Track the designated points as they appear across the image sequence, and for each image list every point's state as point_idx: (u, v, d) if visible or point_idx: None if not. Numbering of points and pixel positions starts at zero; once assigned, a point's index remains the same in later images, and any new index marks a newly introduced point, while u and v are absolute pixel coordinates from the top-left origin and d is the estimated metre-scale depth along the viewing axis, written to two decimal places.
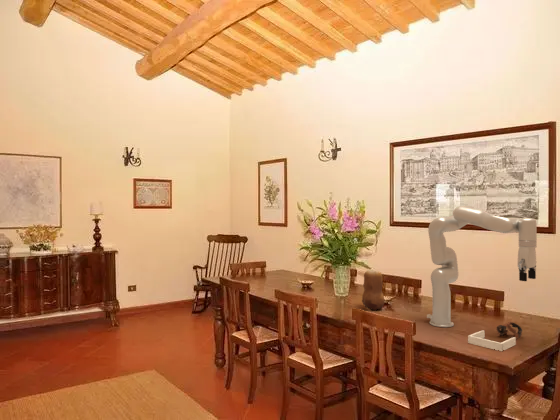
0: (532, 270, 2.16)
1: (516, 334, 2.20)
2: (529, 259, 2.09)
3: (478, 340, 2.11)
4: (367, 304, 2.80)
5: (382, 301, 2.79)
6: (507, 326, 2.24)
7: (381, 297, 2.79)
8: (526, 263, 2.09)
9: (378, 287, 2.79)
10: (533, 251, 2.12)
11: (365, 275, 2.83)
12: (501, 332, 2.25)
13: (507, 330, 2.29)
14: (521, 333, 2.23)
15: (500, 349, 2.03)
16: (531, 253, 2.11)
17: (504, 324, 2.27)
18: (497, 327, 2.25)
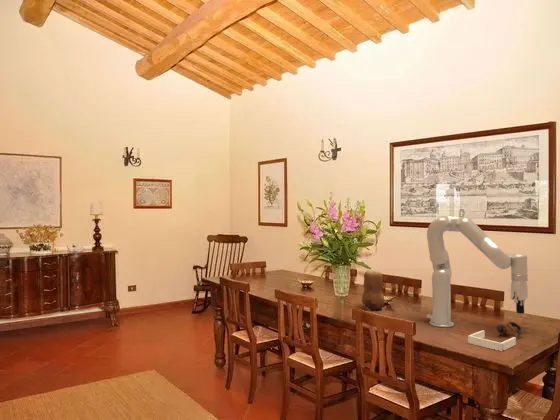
0: None
1: (516, 333, 2.21)
2: (521, 292, 2.28)
3: (478, 340, 2.11)
4: (367, 304, 2.80)
5: (382, 301, 2.79)
6: (507, 326, 2.24)
7: (381, 297, 2.79)
8: (520, 299, 2.29)
9: (378, 287, 2.79)
10: (524, 284, 2.31)
11: (365, 275, 2.83)
12: (501, 332, 2.25)
13: None
14: None
15: (500, 349, 2.03)
16: (523, 286, 2.29)
17: (504, 324, 2.28)
18: (497, 327, 2.26)
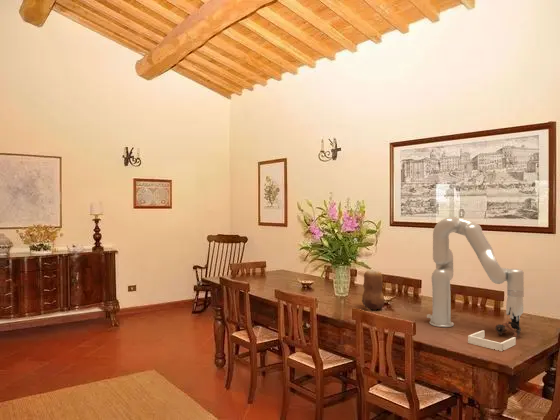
0: None
1: (515, 333, 2.21)
2: (516, 308, 2.26)
3: (478, 340, 2.11)
4: (367, 304, 2.80)
5: (382, 301, 2.79)
6: (506, 325, 2.24)
7: (381, 297, 2.79)
8: (515, 315, 2.26)
9: (378, 287, 2.79)
10: (520, 300, 2.28)
11: (365, 275, 2.83)
12: (500, 331, 2.25)
13: None
14: None
15: (500, 349, 2.03)
16: (519, 302, 2.27)
17: None
18: (496, 326, 2.26)
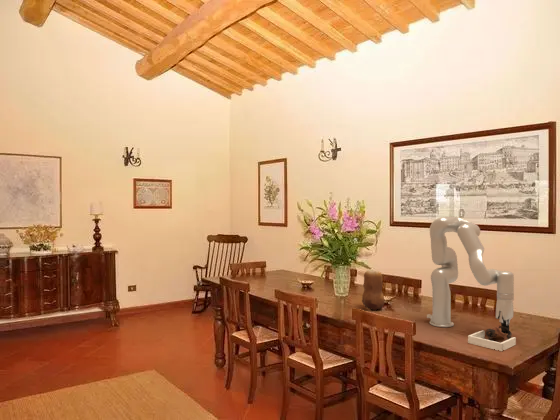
0: None
1: (505, 338, 2.14)
2: (506, 312, 2.18)
3: (478, 340, 2.11)
4: (367, 304, 2.80)
5: (382, 301, 2.79)
6: (496, 330, 2.17)
7: (381, 297, 2.79)
8: (505, 319, 2.19)
9: (378, 287, 2.79)
10: (510, 303, 2.21)
11: (365, 275, 2.83)
12: (490, 336, 2.18)
13: (496, 334, 2.23)
14: (510, 337, 2.16)
15: (500, 349, 2.03)
16: (509, 306, 2.20)
17: (493, 328, 2.21)
18: (486, 331, 2.18)
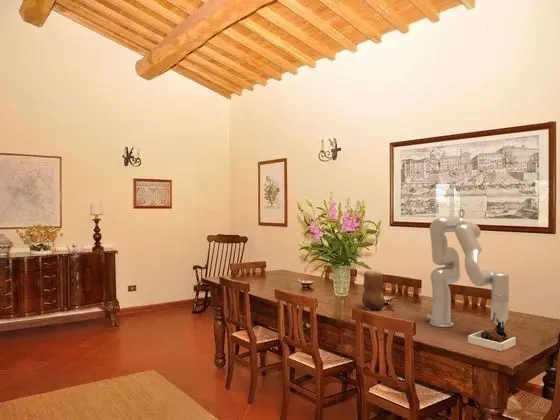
0: None
1: (501, 340, 2.10)
2: (501, 314, 2.15)
3: (478, 340, 2.11)
4: (367, 304, 2.80)
5: (382, 301, 2.79)
6: (492, 332, 2.13)
7: (381, 297, 2.79)
8: (499, 321, 2.16)
9: (378, 287, 2.79)
10: (505, 305, 2.17)
11: (365, 275, 2.83)
12: (485, 338, 2.14)
13: (492, 336, 2.19)
14: (506, 339, 2.12)
15: (500, 349, 2.03)
16: (504, 308, 2.16)
17: (489, 330, 2.17)
18: (481, 333, 2.14)
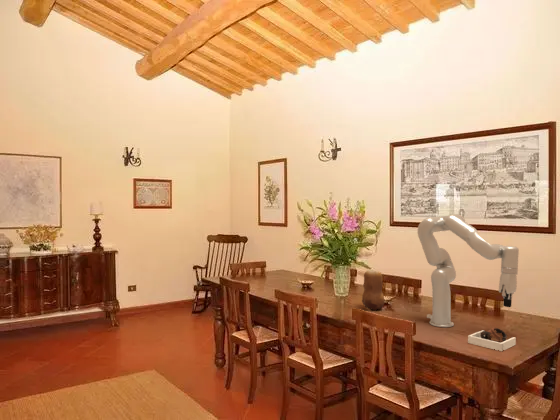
0: None
1: (501, 340, 2.10)
2: (509, 286, 2.21)
3: (478, 340, 2.11)
4: (367, 304, 2.80)
5: (382, 301, 2.79)
6: (491, 332, 2.13)
7: (381, 297, 2.79)
8: None
9: (378, 287, 2.79)
10: (514, 278, 2.24)
11: (365, 275, 2.83)
12: (485, 338, 2.14)
13: (491, 336, 2.19)
14: None
15: (500, 349, 2.03)
16: (512, 280, 2.23)
17: (488, 330, 2.17)
18: (481, 333, 2.15)
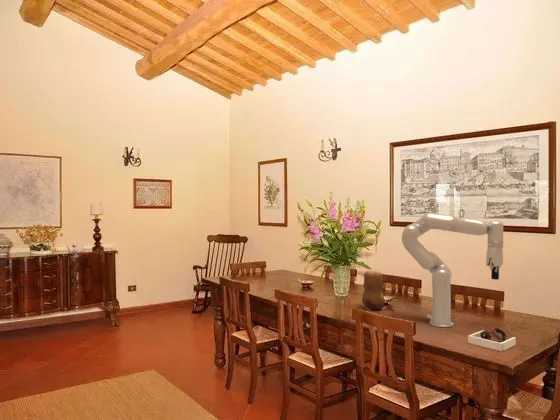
0: None
1: (500, 340, 2.11)
2: (496, 258, 2.32)
3: (478, 340, 2.11)
4: (367, 304, 2.80)
5: (382, 301, 2.79)
6: (491, 332, 2.14)
7: (381, 297, 2.79)
8: (494, 265, 2.33)
9: (378, 287, 2.79)
10: (500, 251, 2.35)
11: (365, 275, 2.83)
12: (485, 338, 2.15)
13: (491, 336, 2.20)
14: (505, 339, 2.13)
15: (500, 349, 2.03)
16: (498, 253, 2.34)
17: (488, 330, 2.18)
18: (481, 333, 2.15)
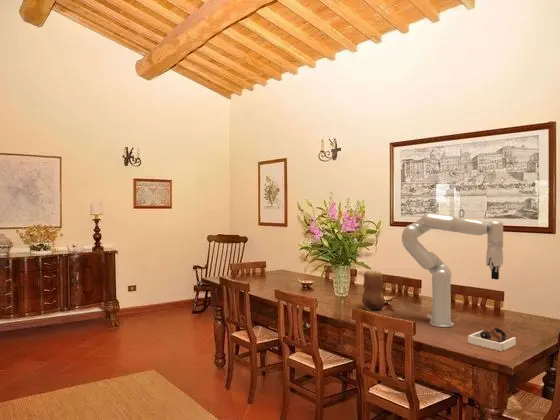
0: None
1: (500, 340, 2.11)
2: (496, 258, 2.33)
3: (478, 340, 2.11)
4: (367, 304, 2.80)
5: (382, 301, 2.79)
6: (491, 332, 2.14)
7: (381, 297, 2.79)
8: (494, 265, 2.33)
9: (378, 287, 2.79)
10: (500, 251, 2.35)
11: (365, 275, 2.83)
12: (485, 338, 2.15)
13: None
14: (505, 339, 2.14)
15: (500, 349, 2.03)
16: (498, 253, 2.34)
17: None
18: (481, 333, 2.15)
